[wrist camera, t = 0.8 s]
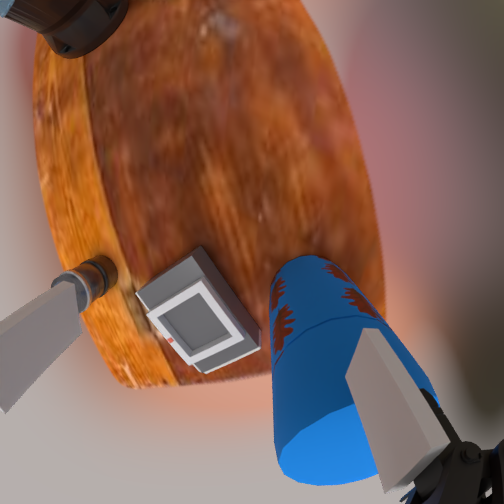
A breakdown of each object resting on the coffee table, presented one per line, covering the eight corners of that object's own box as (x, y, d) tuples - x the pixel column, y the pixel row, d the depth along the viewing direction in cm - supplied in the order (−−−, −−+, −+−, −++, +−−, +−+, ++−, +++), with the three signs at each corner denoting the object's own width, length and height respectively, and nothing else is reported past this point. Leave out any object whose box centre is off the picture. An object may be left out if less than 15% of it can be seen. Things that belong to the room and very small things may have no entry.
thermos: (291, 240, 34) (349, 367, 10) (360, 272, 35) (470, 395, 11) (255, 311, 37) (246, 477, 13) (322, 336, 38) (370, 486, 13)
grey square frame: (148, 280, 36) (127, 300, 30) (201, 245, 35) (187, 259, 28) (207, 356, 39) (199, 385, 33) (261, 330, 38) (260, 358, 31)
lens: (83, 265, 36) (43, 289, 26) (104, 246, 35) (62, 267, 26) (103, 295, 37) (67, 325, 28) (125, 278, 36) (88, 307, 27)
